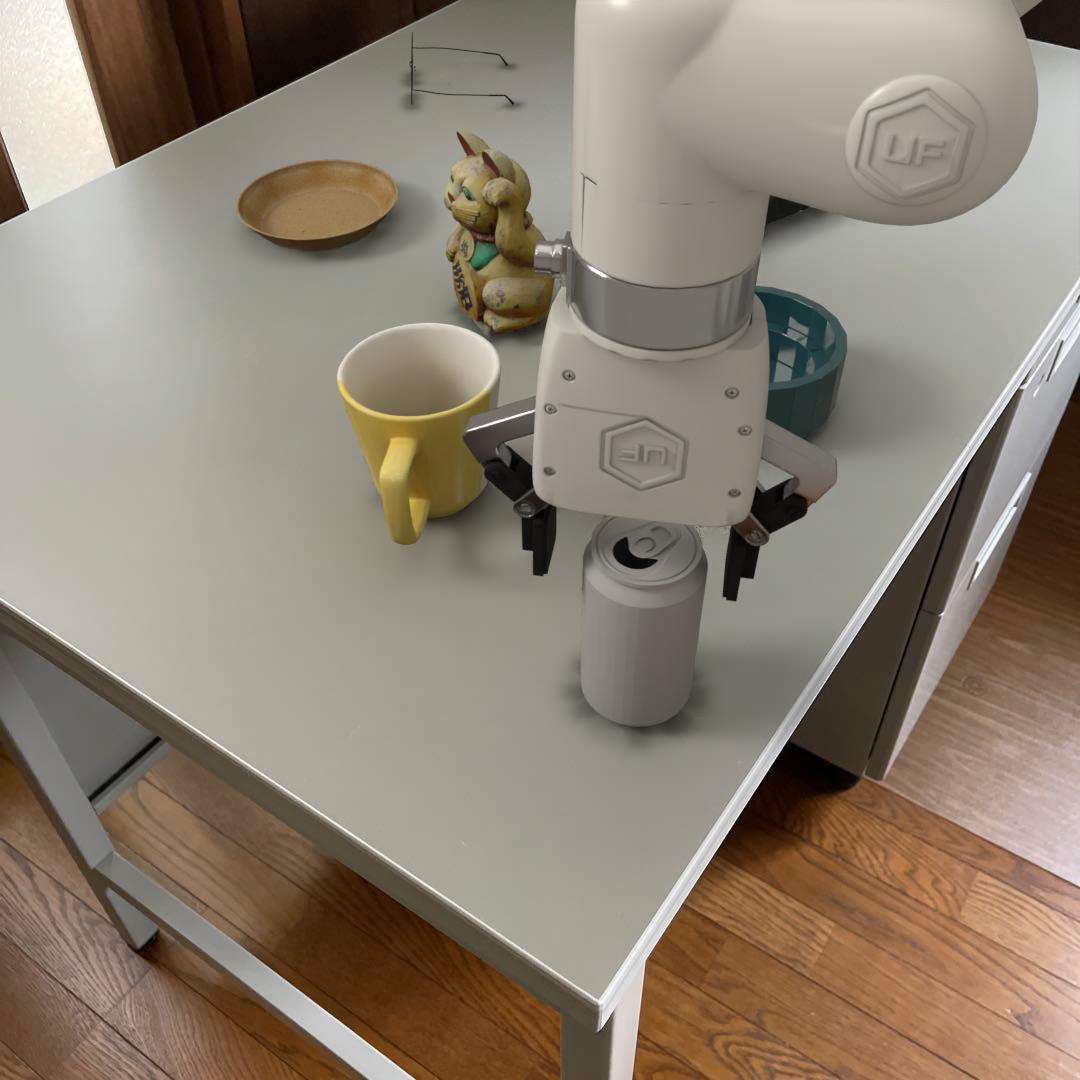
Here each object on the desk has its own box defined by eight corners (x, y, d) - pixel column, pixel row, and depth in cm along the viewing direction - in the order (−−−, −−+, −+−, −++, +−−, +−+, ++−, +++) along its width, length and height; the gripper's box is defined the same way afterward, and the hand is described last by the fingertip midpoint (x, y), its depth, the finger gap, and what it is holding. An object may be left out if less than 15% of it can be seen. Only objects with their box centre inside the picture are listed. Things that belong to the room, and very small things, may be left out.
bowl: (832, 359, 86) (845, 292, 82) (833, 465, 77) (848, 397, 73) (668, 344, 88) (673, 278, 84) (651, 447, 79) (655, 379, 75)
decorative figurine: (435, 301, 93) (418, 128, 82) (517, 271, 96) (511, 101, 85) (495, 357, 87) (485, 178, 77) (581, 323, 90) (583, 147, 80)
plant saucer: (373, 271, 96) (369, 244, 95) (215, 256, 99) (209, 230, 97) (420, 190, 107) (417, 165, 105) (276, 178, 109) (271, 153, 107)
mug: (396, 430, 81) (379, 308, 73) (528, 459, 78) (523, 335, 71) (309, 558, 72) (279, 434, 64) (454, 595, 69) (441, 469, 62)
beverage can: (557, 685, 64) (556, 540, 56) (635, 629, 67) (645, 482, 59) (635, 754, 61) (646, 610, 52) (714, 691, 64) (737, 545, 55)
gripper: (432, 309, 43) (456, 600, 55) (884, 354, 41) (806, 647, 53) (473, 214, 48) (487, 500, 61) (877, 250, 46) (807, 538, 58)
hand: (636, 568), depth 57 cm, fingers open, 9 cm apart
